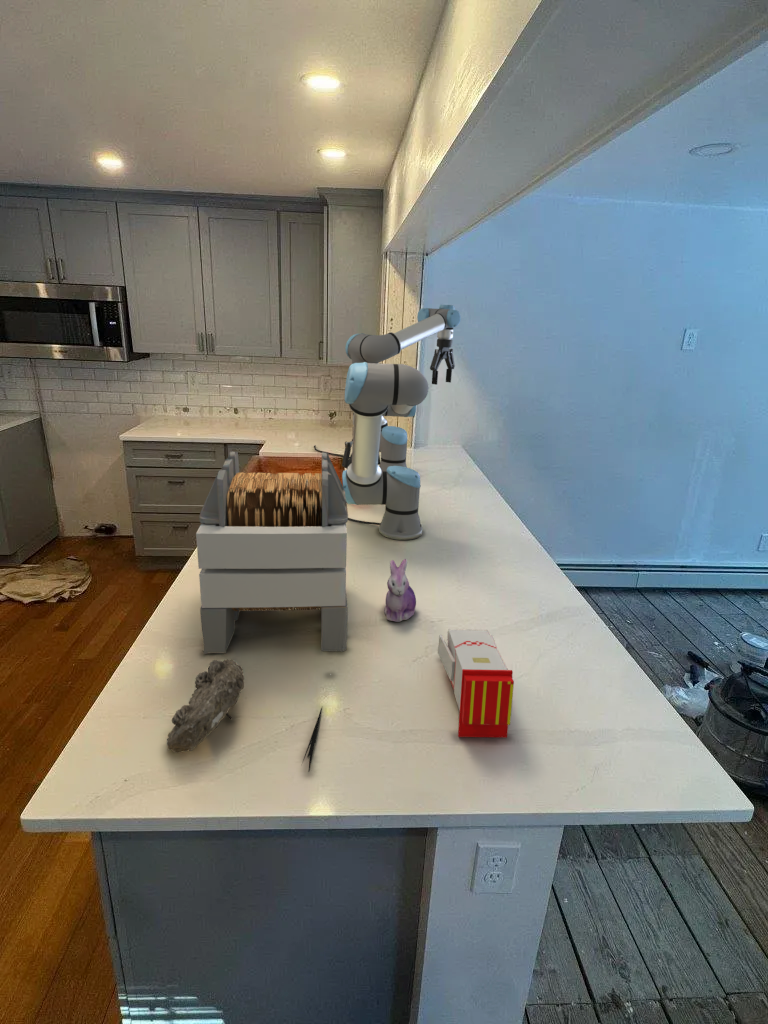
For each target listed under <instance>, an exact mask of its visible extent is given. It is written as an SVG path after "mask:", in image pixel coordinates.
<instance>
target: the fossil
mask: <svg viewBox="0 0 768 1024" xmlns="http://www.w3.org/2000/svg"><path fill="white" fill-rule="evenodd" d="M243 670H244V669H243V667H242V665H240V664H237V662H236V661H235V660H234V659H232V658H231V659H227V658H226V659H224V660H223V661H222V660H217V659H212V660H211V661H210V663H209V665H208V666H207V671H201V672H199V673H198V674H197V675H196V676H195V680H194V684H195V685H194V687H195V689H194V690H193V693H192V694H191V697H190V698H189V700H188V704H184V705H182V706H181V707H180V709H177V710H176V711H175V713H174V715H173V716H172V718H171V723H172V724H173V727H172V730H171V731H170V732H168V734H167V738H166V741H167V742H166V745H167V749H168V750H169V751H173V752H174V753H176V754H178V753H182V752H188V751H189V752H192V751H193V750H195V748H196V747H197V746H199V744H200V743H201V742H203V741H204V740H205V739H206V738H207V737H208V736H209V735H210V734H211V733H212V732H214V730H215V729H217V727H218V726H219V724H220V722H221V721H222V720H223V719H224V718H225V716H226V717H227V719H229V720H233V717H232V715H230V714H229V710H230V709H231V708H234V706H235V704H236V703H237V702H238V699H239V697H240V695H241V693H242V691H243V690H245V689H244V688H245V675H244V671H243Z"/></svg>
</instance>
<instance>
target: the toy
mask: <svg viewBox="0 0 768 1024" xmlns="http://www.w3.org/2000/svg"><path fill="white" fill-rule="evenodd" d="M446 640H447V643H446V641H445V639H444V636H443V635H442V634H439V637H438V646H437V656H438V657H439V659H440V661H441V663H442V666H443V668H444V670H445V672H446V674H447V677H448V679H449V681H450V684H451V687H452V690H453V693H454V697H455V701H456V705H457V708H458V711H459V714H458V715H459V716H458V730H457V731H458V732H457V737H458V738H508V731H509V726H510V725H511V717H512V707H513V697H514V696H513V695H514V684H515V680H514V679H513V673H514V671H513V670H512V669H508V667H507V665H506V662H505V661H504V659H503V658H502V655H501V653H500V651H499V649H498V647H497V643H496V639H495V637H494V635H493V634H491V632H490V631H489V629H467V628H466V629H465V628H463V629H461V628H460V629H459V628H448V630H447V639H446Z"/></svg>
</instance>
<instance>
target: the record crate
mask: <svg viewBox="0 0 768 1024" xmlns="http://www.w3.org/2000/svg"><path fill="white" fill-rule="evenodd" d="M324 452H325V451H324ZM324 452H321V472H319V473H318V472H316V473H314V474H313V473H311V472H305V473H304V474H301V473H299V472H277V473H271V472H241V471H240V464H239V461H240V460H239V452H238V451H232V450H231V451H229V454H228V455H227V458H225V459H224V463H223V465H222V467H221V469H219V470H218V472H217V473H216V474H217V475H216V476H215V478H214V481H213V483H212V485H211V488H210V489H209V492H208V494H207V496H206V499H205V501H204V503H203V506H202V508H201V510H200V512H199V516H198V517H199V523H200V525H199V526H198V529H197V531H196V533H195V536H196V537H195V540H196V552H197V553H196V554H197V565H198V569H199V570H200V572H199V573H198V577H199V591H200V604H201V605H200V607H199V608H200V609H199V610H200V611H199V613H200V626H201V636H202V645H203V650H202V653H203V654H204V655H210V654H226V652H227V650H228V648H229V645H230V643H231V641H232V638H233V636H234V634H235V632H236V622H237V621H238V619H239V616H240V612H243V611H244V612H247V611H248V612H249V611H250V612H252V611H253V612H254V611H255V612H256V611H257V612H258V611H263V612H264V611H310V610H312V611H316V610H318V611H319V610H320V621H321V622H320V628H321V629H320V633H321V638H320V639H321V641H320V642H321V643H320V644H321V649H320V650H321V652H341V653H342V652H344V651H347V649H348V613H349V612H348V610H349V609H348V608H349V607H348V597H347V553H348V552H347V551H348V550H347V549H348V531H347V530H348V529H347V523H348V521H349V520H348V518H349V512H348V503H347V502H346V497H345V490H344V488H343V483H342V482H341V479H340V477H339V476H338V473H337V471H336V468H335V467H334V465H333V462H332V460H331V457H330V455H329V454H328V453H324Z"/></svg>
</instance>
